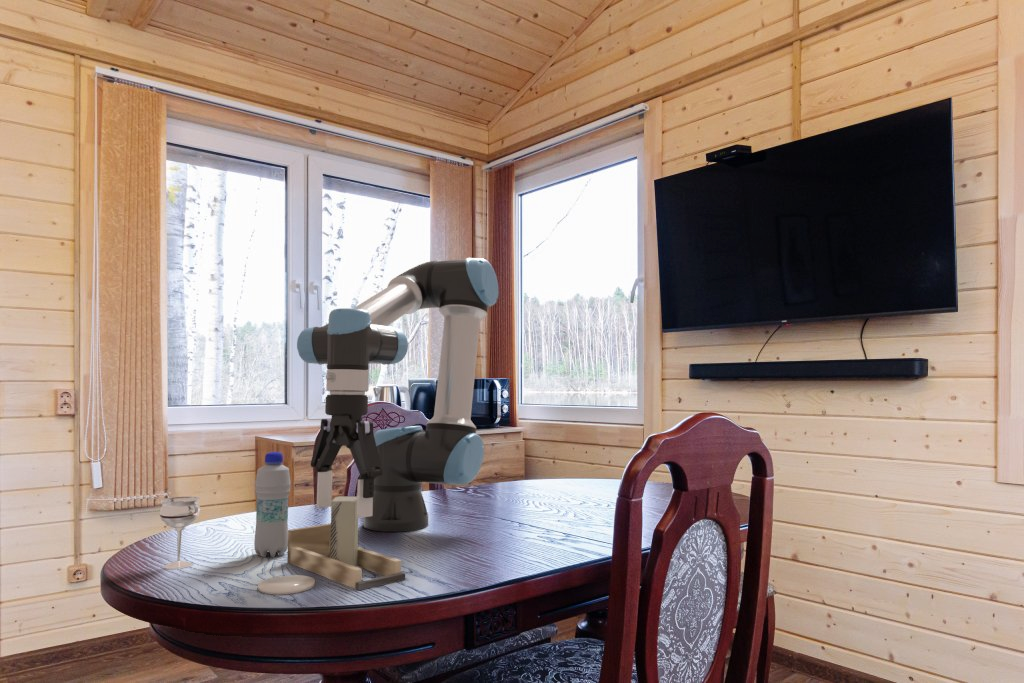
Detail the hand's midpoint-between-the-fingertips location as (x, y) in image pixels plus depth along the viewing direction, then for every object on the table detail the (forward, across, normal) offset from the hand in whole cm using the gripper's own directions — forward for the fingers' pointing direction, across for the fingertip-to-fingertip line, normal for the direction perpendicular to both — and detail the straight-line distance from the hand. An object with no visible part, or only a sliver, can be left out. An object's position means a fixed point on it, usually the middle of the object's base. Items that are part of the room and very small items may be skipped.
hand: (343, 511), depth 126 cm
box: (+11, 0, +1) cm, 11 cm away
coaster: (+11, +2, -12) cm, 16 cm away
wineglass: (+11, -24, -20) cm, 33 cm away
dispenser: (+10, 0, 0) cm, 10 cm away
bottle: (+11, -20, -4) cm, 23 cm away
